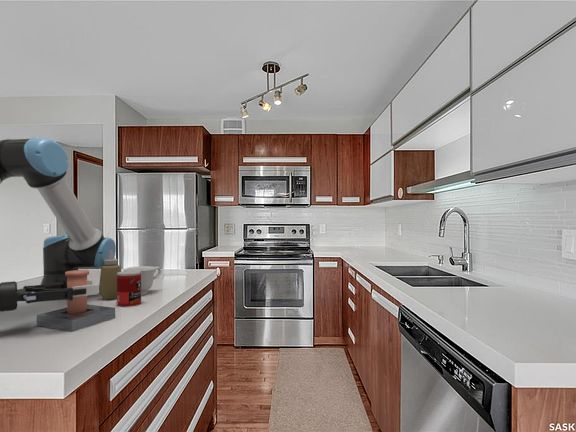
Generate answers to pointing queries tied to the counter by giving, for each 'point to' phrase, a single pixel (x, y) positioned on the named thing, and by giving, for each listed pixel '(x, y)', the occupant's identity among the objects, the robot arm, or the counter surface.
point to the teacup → (145, 276)
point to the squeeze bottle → (109, 277)
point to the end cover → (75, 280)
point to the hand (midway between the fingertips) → (95, 286)
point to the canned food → (128, 288)
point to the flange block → (75, 318)
